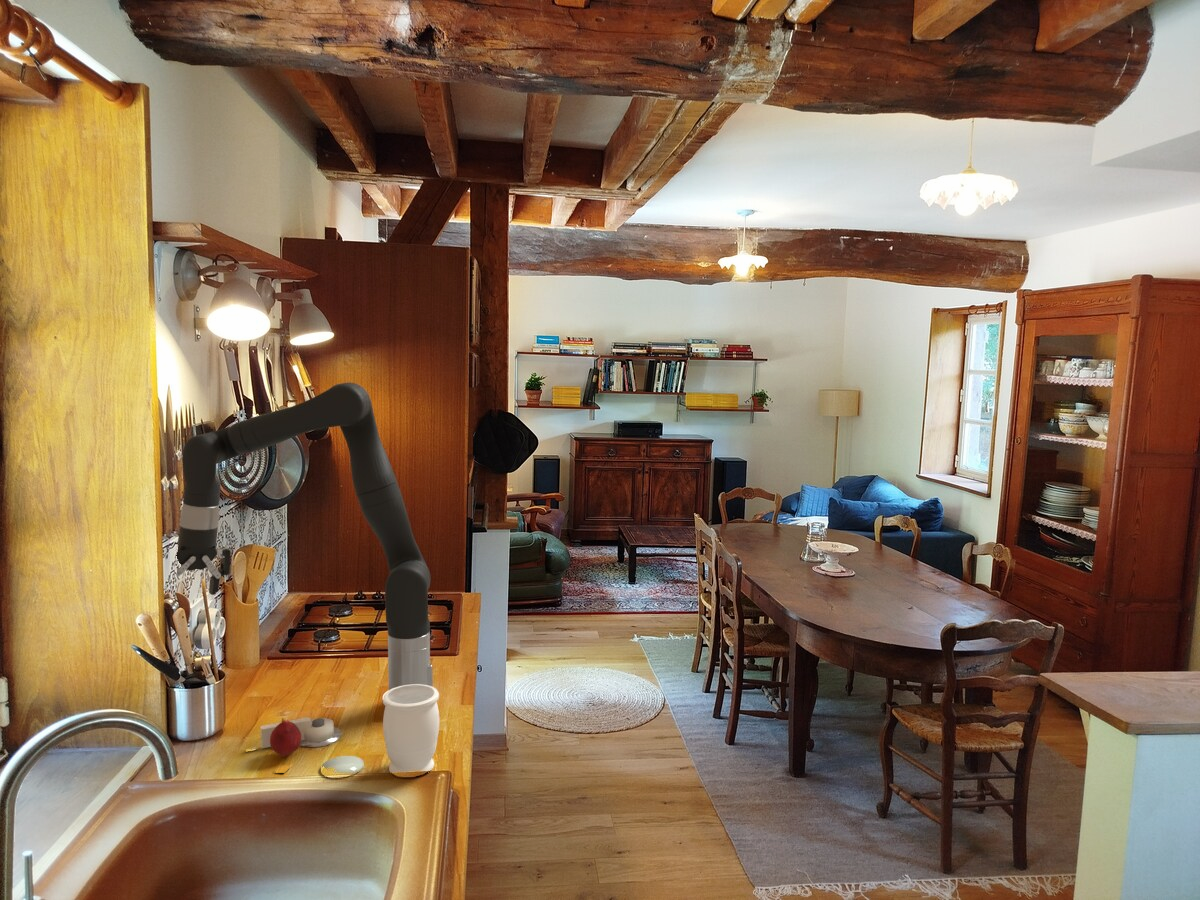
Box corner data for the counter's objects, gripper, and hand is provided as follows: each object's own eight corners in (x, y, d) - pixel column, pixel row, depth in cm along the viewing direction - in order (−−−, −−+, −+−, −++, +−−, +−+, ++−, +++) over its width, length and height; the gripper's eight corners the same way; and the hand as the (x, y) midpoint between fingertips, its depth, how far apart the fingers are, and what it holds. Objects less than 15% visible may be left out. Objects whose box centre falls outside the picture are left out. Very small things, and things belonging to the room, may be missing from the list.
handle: (330, 726, 171) (330, 708, 170) (336, 738, 166) (335, 720, 165) (260, 740, 164) (259, 721, 164) (263, 753, 159) (262, 734, 159)
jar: (395, 788, 148) (394, 710, 146) (375, 764, 156) (374, 691, 154) (448, 771, 154) (448, 697, 152) (426, 749, 162) (425, 679, 161)
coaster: (358, 754, 160) (358, 752, 160) (367, 772, 153) (367, 770, 153) (317, 763, 156) (317, 761, 156) (324, 782, 149) (324, 780, 149)
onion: (305, 749, 162) (304, 711, 161) (296, 763, 156) (295, 724, 155) (276, 749, 162) (275, 711, 161) (265, 763, 156) (264, 724, 155)
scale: (336, 724, 173) (336, 722, 173) (352, 759, 158) (352, 757, 158) (243, 742, 164) (243, 740, 164) (251, 781, 149) (251, 779, 149)
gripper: (169, 529, 167) (162, 604, 168) (239, 527, 177) (231, 597, 178) (157, 520, 172) (151, 593, 173) (226, 518, 182) (219, 587, 184)
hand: (191, 595), depth 176 cm, fingers open, 8 cm apart
